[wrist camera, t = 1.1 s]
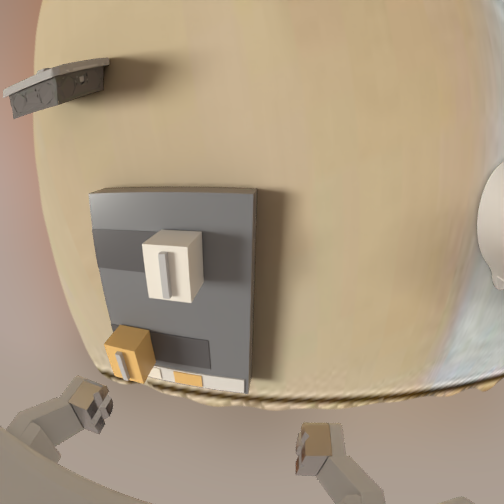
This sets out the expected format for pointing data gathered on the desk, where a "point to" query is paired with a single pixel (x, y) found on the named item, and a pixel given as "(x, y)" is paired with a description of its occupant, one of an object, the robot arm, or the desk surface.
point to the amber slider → (130, 353)
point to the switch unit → (209, 295)
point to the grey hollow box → (56, 86)
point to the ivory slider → (174, 265)
